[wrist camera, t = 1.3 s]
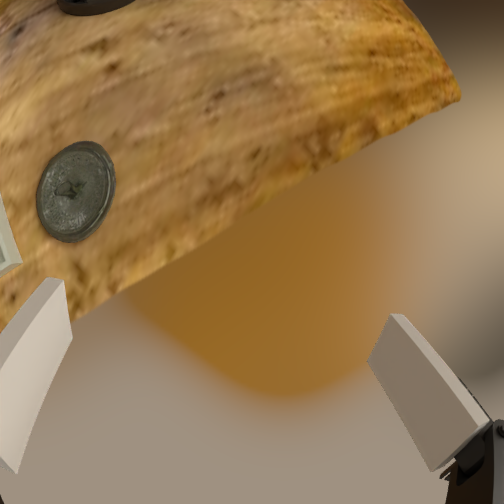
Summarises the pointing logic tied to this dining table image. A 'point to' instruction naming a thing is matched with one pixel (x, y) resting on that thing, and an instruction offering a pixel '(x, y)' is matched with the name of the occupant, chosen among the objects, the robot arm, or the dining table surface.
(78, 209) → the lid
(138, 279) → the dining table surface
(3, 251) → the tray
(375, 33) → the dining table surface
